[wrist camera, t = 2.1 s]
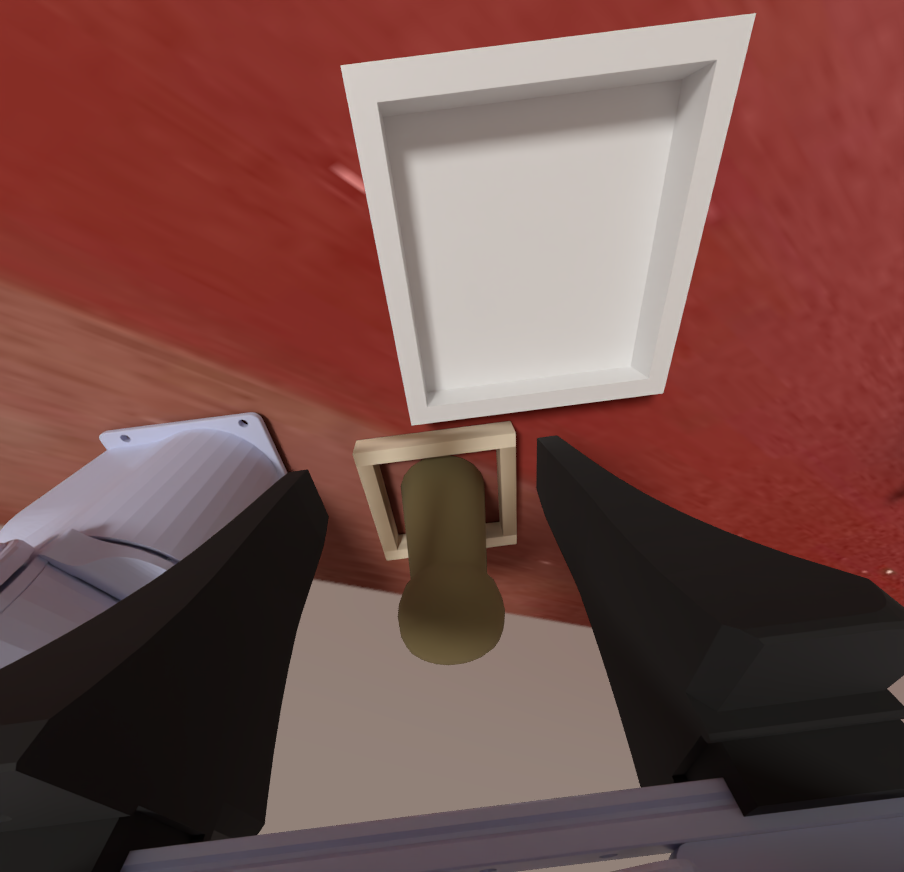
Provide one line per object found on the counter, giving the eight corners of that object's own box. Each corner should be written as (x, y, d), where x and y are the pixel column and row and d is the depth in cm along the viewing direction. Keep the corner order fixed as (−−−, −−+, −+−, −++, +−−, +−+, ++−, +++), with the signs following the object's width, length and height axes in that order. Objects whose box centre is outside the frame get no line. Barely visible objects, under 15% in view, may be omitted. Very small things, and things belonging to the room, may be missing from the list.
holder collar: (388, 544, 27) (386, 560, 26) (356, 440, 22) (352, 453, 21) (512, 529, 27) (516, 543, 26) (510, 420, 22) (515, 432, 21)
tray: (412, 405, 21) (411, 425, 19) (353, 90, 13) (340, 65, 11) (638, 376, 21) (663, 393, 19) (704, 46, 14) (756, 13, 11)
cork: (488, 512, 26) (523, 671, 17) (411, 525, 26) (403, 690, 17) (479, 448, 23) (516, 600, 14) (391, 463, 23) (368, 624, 14)
